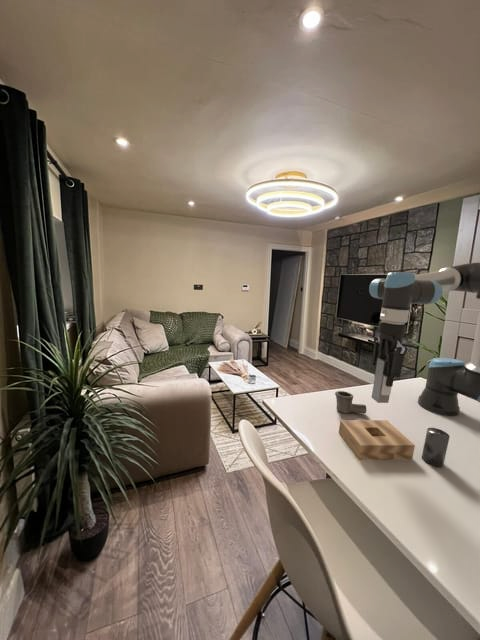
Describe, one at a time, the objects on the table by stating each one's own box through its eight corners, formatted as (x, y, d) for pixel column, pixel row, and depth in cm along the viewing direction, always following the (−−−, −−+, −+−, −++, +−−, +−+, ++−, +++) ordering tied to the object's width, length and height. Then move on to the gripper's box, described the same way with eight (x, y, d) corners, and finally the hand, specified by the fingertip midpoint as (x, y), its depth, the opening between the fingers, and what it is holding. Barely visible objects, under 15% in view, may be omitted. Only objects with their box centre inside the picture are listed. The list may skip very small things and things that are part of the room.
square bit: (381, 397, 88) (388, 358, 86) (388, 402, 85) (395, 361, 82) (371, 397, 88) (377, 357, 85) (377, 402, 84) (384, 361, 82)
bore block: (385, 432, 97) (387, 420, 96) (412, 459, 83) (415, 445, 82) (338, 432, 95) (340, 420, 94) (358, 459, 82) (360, 445, 81)
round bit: (433, 455, 86) (439, 427, 84) (447, 467, 80) (454, 438, 79) (417, 455, 85) (422, 427, 84) (431, 467, 80) (437, 438, 78)
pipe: (366, 418, 107) (369, 400, 105) (334, 413, 109) (336, 395, 108) (362, 410, 112) (365, 393, 111) (332, 406, 115) (334, 389, 113)
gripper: (366, 317, 89) (357, 381, 94) (399, 327, 73) (386, 404, 77) (387, 317, 90) (377, 381, 94) (424, 328, 74) (410, 404, 78)
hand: (381, 391), depth 86 cm, fingers closed on square bit, 4 cm apart
